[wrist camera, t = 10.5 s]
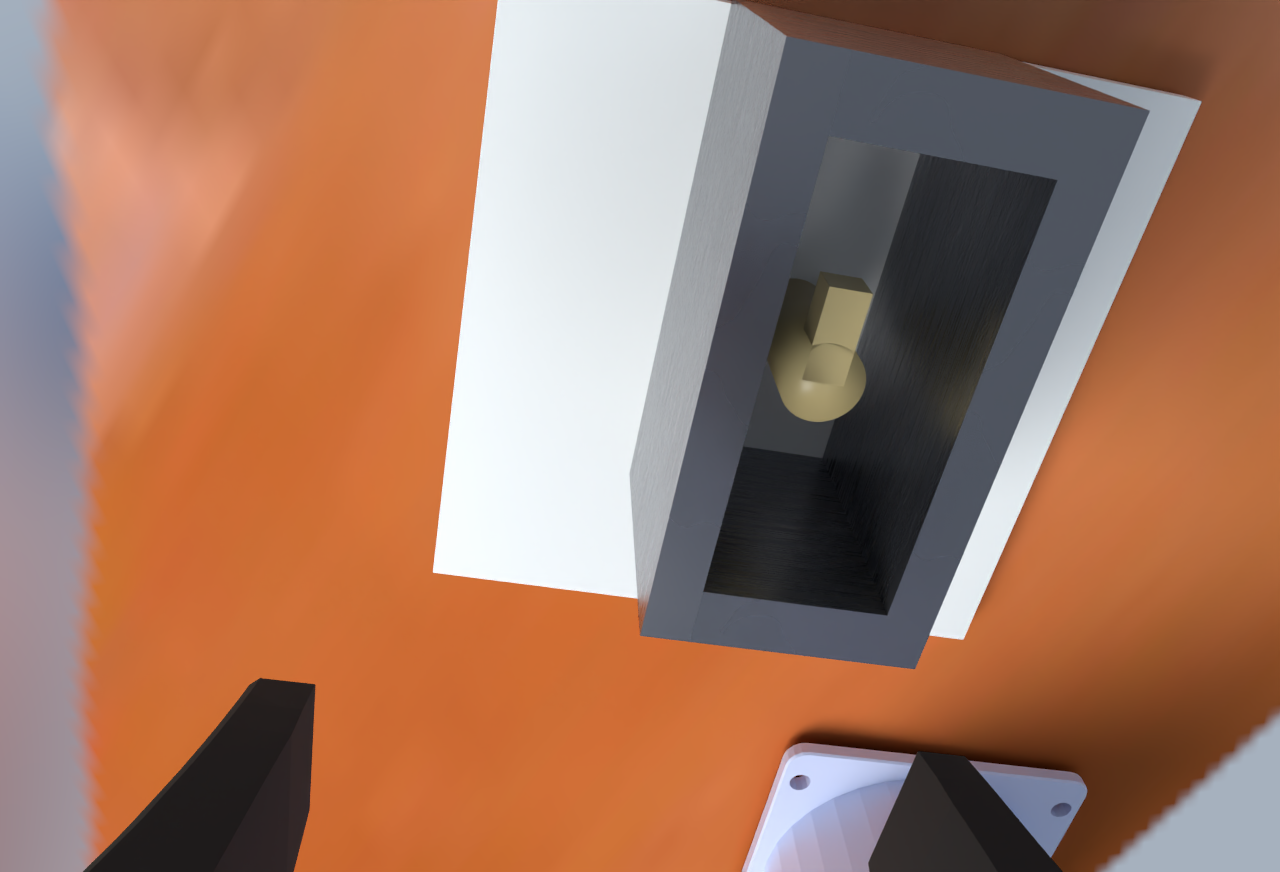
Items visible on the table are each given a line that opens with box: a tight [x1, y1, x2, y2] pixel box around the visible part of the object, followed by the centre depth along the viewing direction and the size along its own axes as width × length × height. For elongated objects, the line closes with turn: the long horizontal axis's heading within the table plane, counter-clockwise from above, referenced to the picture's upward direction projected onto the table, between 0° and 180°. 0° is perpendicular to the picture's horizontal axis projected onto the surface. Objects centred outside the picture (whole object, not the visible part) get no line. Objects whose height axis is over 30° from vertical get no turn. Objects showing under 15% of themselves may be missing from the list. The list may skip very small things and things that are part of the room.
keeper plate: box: [433, 0, 1202, 640], centre depth 18 cm, size 12×12×4 cm
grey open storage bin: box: [629, 0, 1150, 669], centre depth 16 cm, size 9×5×5 cm, turn 169°
